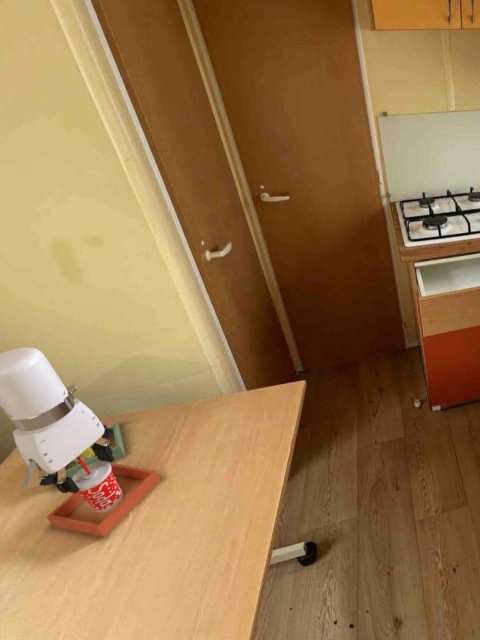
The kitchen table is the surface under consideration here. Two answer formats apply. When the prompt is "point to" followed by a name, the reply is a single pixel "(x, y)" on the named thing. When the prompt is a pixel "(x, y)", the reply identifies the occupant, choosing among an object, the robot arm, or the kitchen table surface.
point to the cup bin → (116, 515)
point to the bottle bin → (117, 453)
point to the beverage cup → (98, 485)
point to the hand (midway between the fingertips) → (89, 474)
